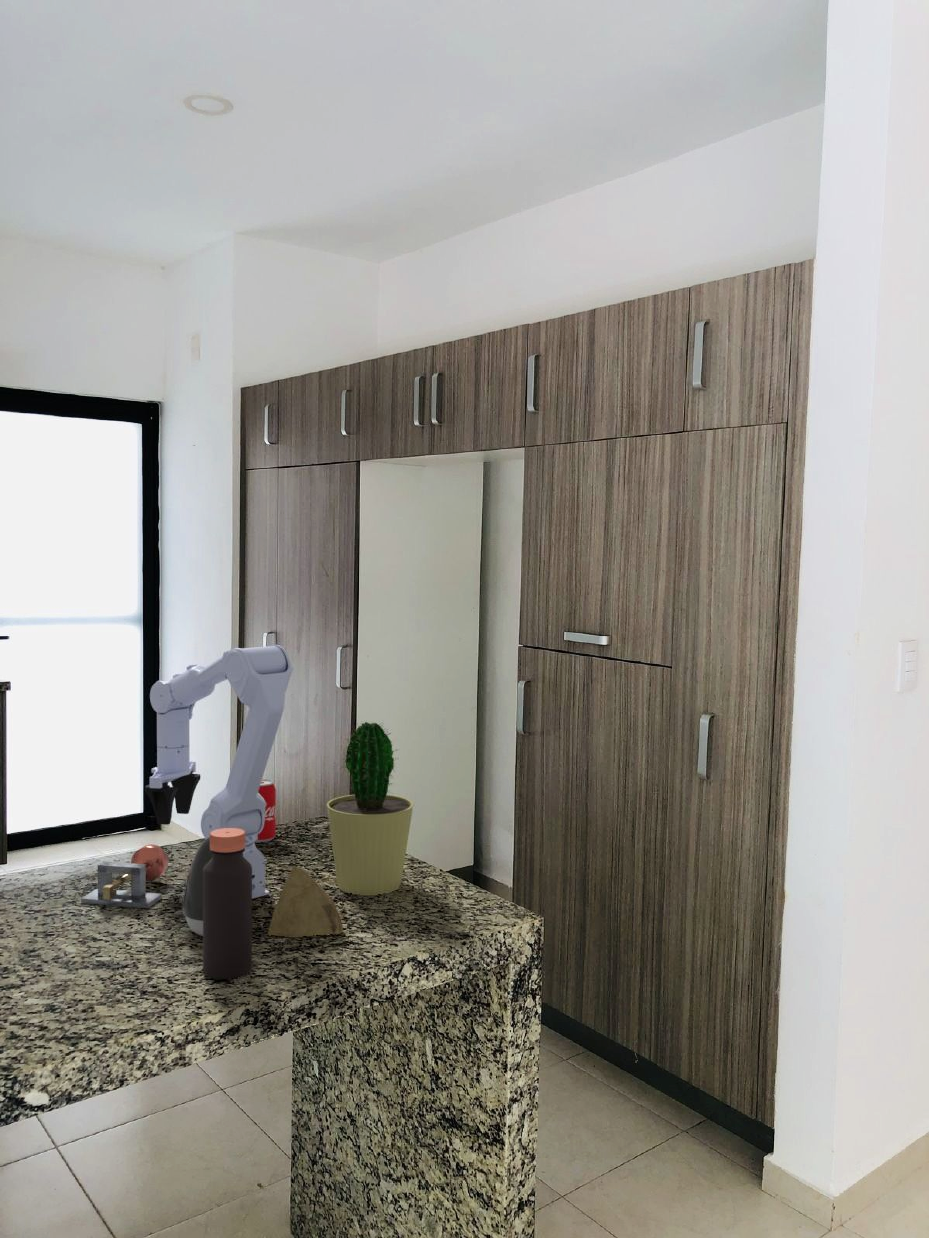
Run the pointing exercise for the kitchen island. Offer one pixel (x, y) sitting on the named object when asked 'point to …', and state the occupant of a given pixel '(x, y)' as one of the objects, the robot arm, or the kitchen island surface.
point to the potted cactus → (369, 818)
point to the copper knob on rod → (154, 867)
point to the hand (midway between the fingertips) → (173, 818)
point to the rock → (304, 909)
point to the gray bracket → (123, 898)
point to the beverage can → (268, 811)
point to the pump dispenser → (196, 888)
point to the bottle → (227, 907)
